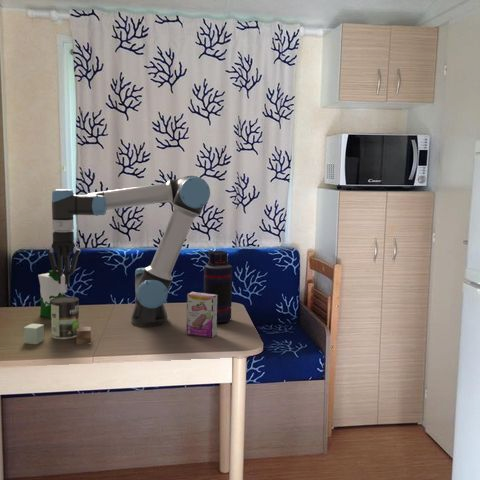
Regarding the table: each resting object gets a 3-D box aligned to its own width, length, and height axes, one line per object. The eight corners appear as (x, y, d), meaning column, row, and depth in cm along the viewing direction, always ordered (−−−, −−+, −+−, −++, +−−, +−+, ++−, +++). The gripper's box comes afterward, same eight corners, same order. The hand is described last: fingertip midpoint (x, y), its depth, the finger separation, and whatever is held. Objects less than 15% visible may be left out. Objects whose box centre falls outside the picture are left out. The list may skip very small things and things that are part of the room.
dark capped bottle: (235, 323, 230) (237, 253, 225) (209, 326, 224) (211, 254, 220) (222, 314, 242) (223, 248, 237) (197, 317, 237) (198, 249, 232)
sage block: (44, 340, 203) (43, 324, 202) (37, 344, 198) (36, 328, 197) (31, 339, 204) (31, 323, 203) (24, 343, 199) (23, 327, 198)
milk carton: (49, 319, 228) (48, 272, 226) (36, 315, 234) (35, 269, 231) (67, 315, 236) (66, 269, 233) (54, 311, 241) (53, 266, 238)
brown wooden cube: (90, 339, 205) (90, 326, 204) (90, 343, 200) (90, 330, 200) (77, 340, 204) (76, 327, 203) (76, 344, 199) (76, 331, 198)
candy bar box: (185, 335, 213) (186, 294, 210) (191, 331, 217) (191, 291, 215) (212, 338, 209) (213, 297, 207) (217, 334, 214) (217, 294, 211)
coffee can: (84, 332, 213) (83, 297, 211) (71, 340, 203) (70, 303, 201) (60, 330, 215) (59, 295, 213) (46, 338, 205) (45, 301, 203)
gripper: (42, 231, 199) (43, 294, 203) (77, 232, 199) (78, 295, 203) (49, 228, 207) (50, 289, 210) (83, 230, 207) (84, 290, 210)
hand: (64, 292), depth 206 cm, fingers closed
